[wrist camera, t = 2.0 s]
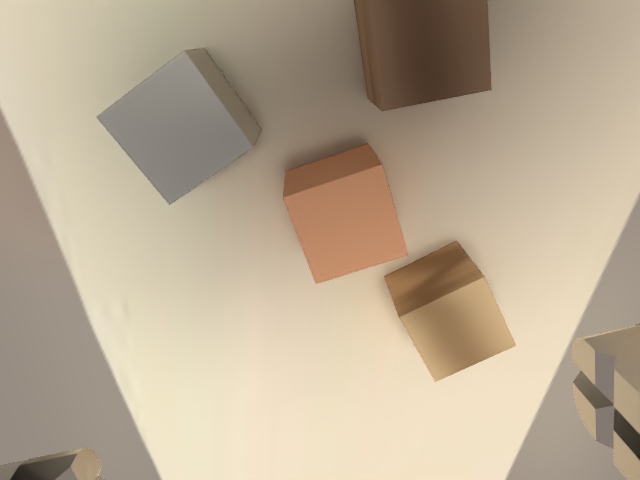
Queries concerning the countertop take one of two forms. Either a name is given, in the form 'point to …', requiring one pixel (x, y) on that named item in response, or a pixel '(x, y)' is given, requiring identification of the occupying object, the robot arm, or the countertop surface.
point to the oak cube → (448, 311)
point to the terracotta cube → (343, 213)
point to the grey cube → (182, 124)
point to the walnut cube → (423, 49)
